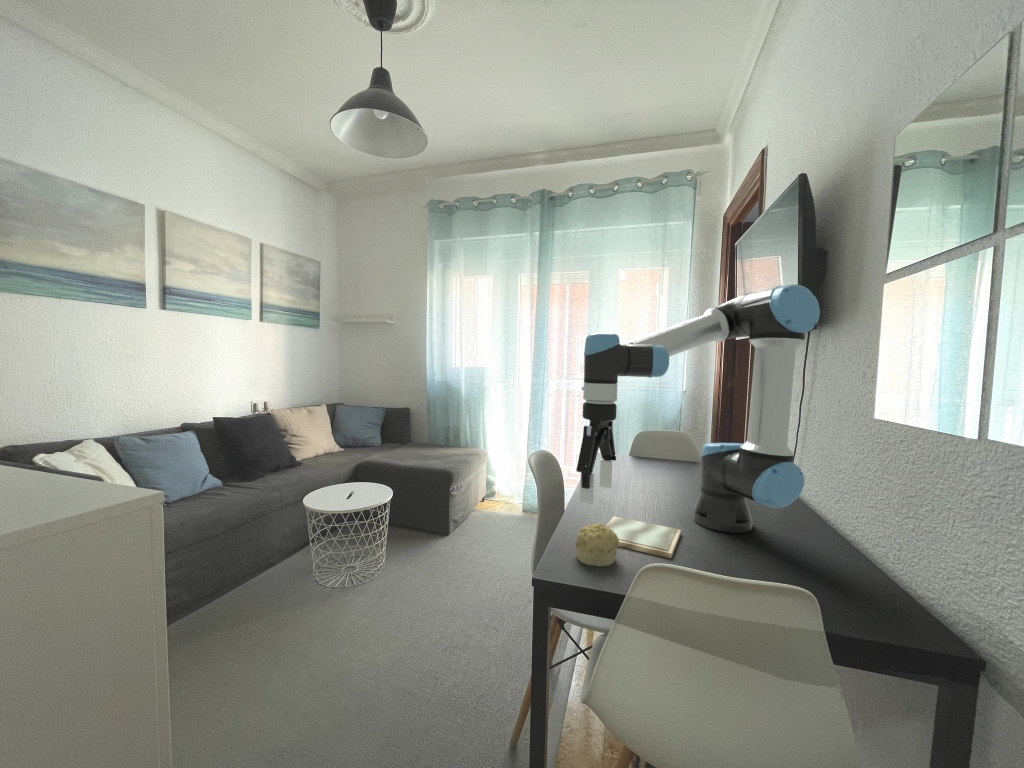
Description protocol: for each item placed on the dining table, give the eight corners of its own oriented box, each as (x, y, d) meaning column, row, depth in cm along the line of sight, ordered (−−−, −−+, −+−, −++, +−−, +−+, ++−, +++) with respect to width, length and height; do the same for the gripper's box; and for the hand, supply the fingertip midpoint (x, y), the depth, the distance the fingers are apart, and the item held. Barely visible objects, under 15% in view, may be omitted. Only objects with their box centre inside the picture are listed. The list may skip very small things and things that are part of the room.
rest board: (680, 534, 107) (680, 529, 107) (671, 558, 93) (671, 552, 93) (613, 520, 116) (613, 515, 116) (596, 540, 102) (596, 535, 102)
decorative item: (578, 579, 90) (593, 557, 84) (565, 539, 98) (577, 515, 92) (615, 574, 93) (632, 552, 87) (599, 535, 100) (613, 512, 94)
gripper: (600, 398, 104) (597, 479, 105) (562, 404, 82) (559, 506, 83) (629, 399, 100) (626, 483, 101) (598, 407, 78) (594, 513, 79)
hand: (596, 494), depth 92 cm, fingers open, 13 cm apart
